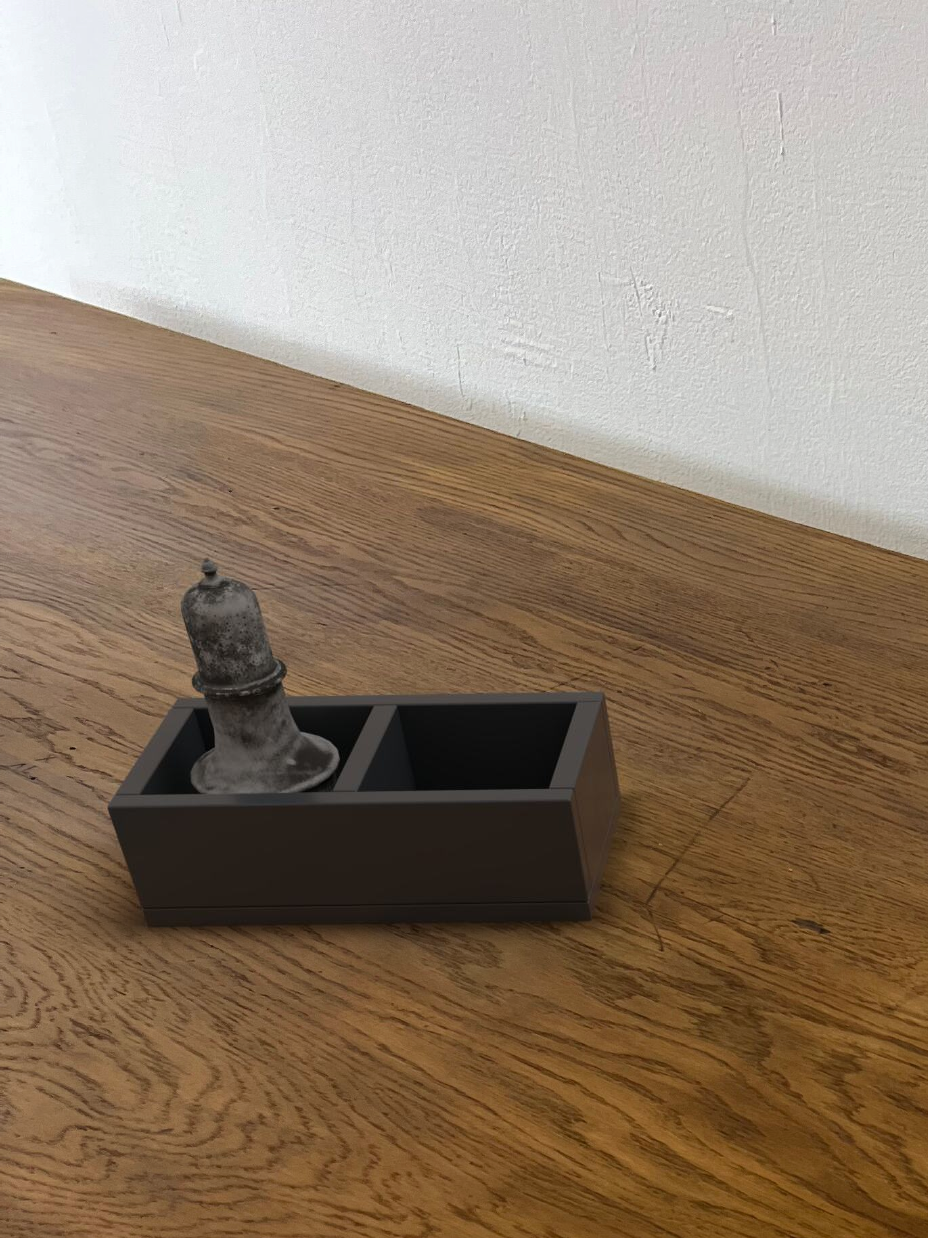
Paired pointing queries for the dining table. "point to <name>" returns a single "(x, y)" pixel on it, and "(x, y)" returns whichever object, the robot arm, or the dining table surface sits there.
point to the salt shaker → (247, 699)
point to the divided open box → (384, 816)
